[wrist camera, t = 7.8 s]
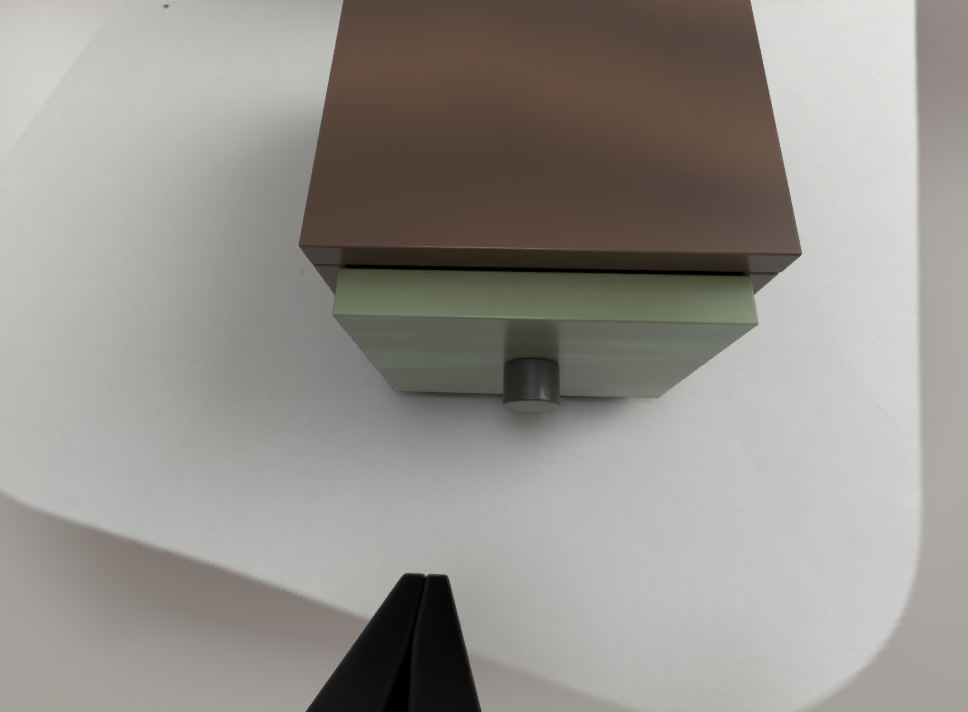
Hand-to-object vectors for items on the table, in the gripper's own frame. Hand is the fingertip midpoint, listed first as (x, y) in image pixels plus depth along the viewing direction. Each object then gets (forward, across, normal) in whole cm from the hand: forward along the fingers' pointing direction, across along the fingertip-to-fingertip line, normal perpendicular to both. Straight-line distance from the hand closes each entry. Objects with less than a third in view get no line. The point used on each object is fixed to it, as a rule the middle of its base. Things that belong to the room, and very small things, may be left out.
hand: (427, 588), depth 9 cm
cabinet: (+15, -2, -4) cm, 16 cm away
